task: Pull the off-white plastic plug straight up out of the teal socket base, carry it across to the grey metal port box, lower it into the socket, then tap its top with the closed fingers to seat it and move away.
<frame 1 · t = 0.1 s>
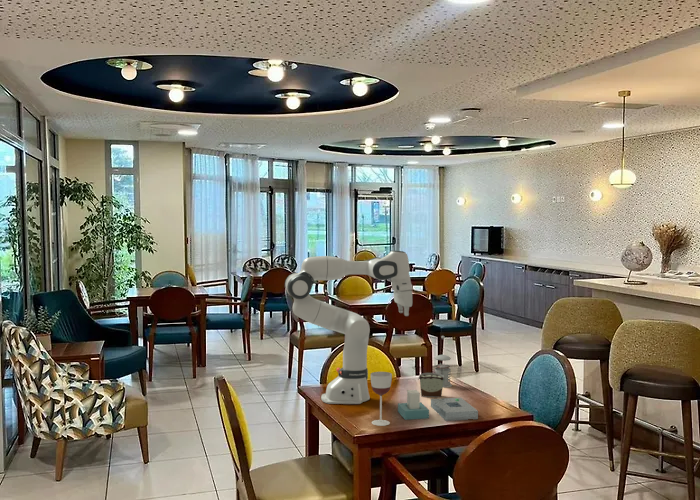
hand: (403, 314, 290), 39 cm above the table, tool pointing down, fingers open, 8 cm apart
wineglass: (380, 423, 252), on the table
teal socket base: (413, 414, 263), on the table
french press: (442, 385, 311), on the table
food container: (431, 395, 294), on the table
port box: (453, 412, 266), on the table
plug: (413, 403, 263), in the teal socket base
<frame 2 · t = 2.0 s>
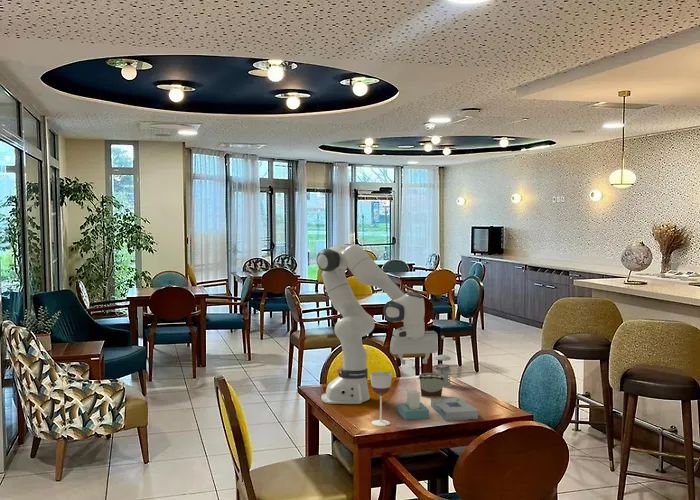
hand: (414, 363, 262), 22 cm above the table, tool pointing down, fingers open, 8 cm apart
nothing on the table moved.
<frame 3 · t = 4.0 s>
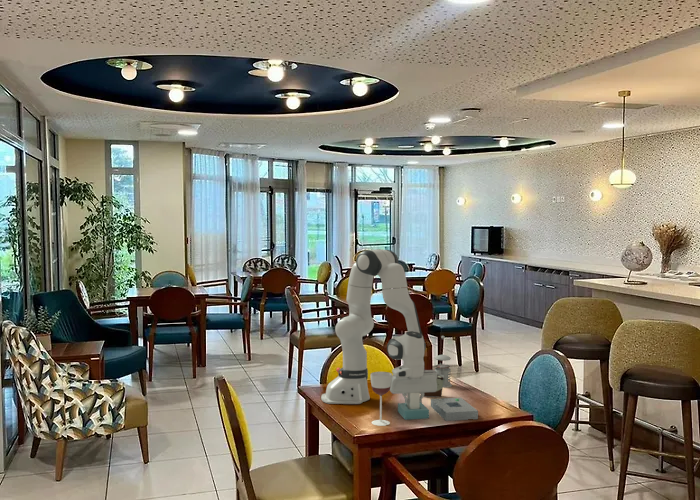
hand: (413, 402, 263), 5 cm above the table, tool pointing down, fingers closed on plug, 4 cm apart
plug: (413, 403, 263), in the teal socket base, touching gripper
everything else where it was.
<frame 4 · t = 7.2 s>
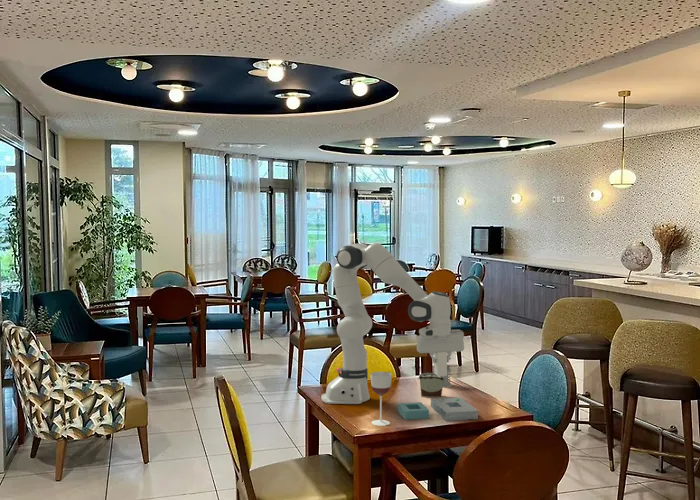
hand: (440, 362, 264), 22 cm above the table, tool pointing down, fingers closed on plug, 4 cm apart
plug: (440, 362, 264), point 22 cm above the table, touching gripper
everything else where it was.
when the fingers open (6 cm above the table, at t = 10.2 s): plug stays where it is, resting in port box.
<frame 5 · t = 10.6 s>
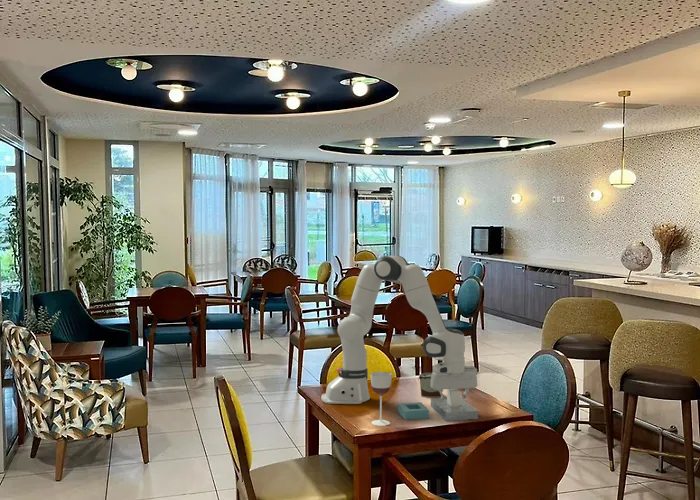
hand: (453, 398, 266), 6 cm above the table, tool pointing down, fingers open, 8 cm apart
plug: (453, 401, 266), in the port box
everything else where it was.
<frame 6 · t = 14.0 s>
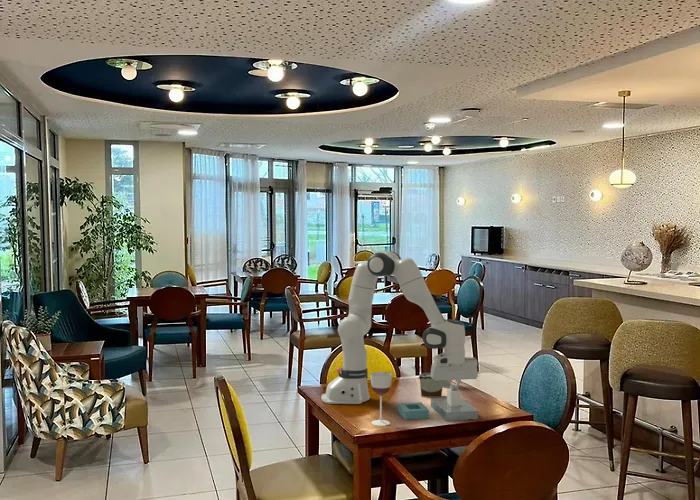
hand: (454, 389, 266), 10 cm above the table, tool pointing down, fingers closed, pressing on plug
plug: (453, 401, 266), in the port box, touching gripper
everything else where it was.
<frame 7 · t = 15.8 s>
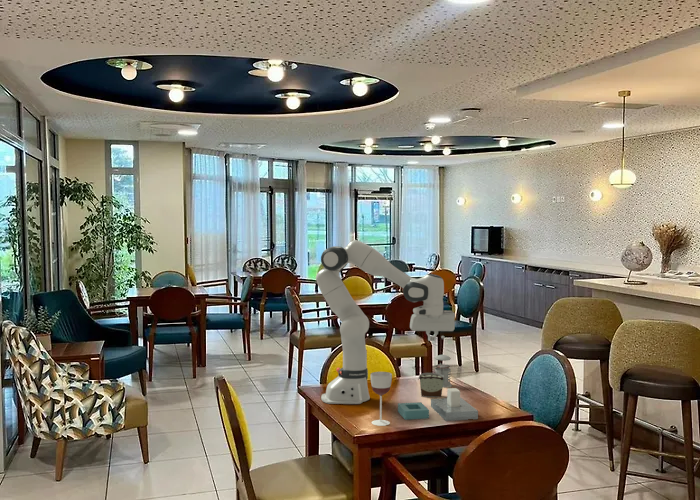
hand: (431, 340, 280), 28 cm above the table, tool pointing down, fingers closed
plug: (453, 401, 266), in the port box
everything else where it was.
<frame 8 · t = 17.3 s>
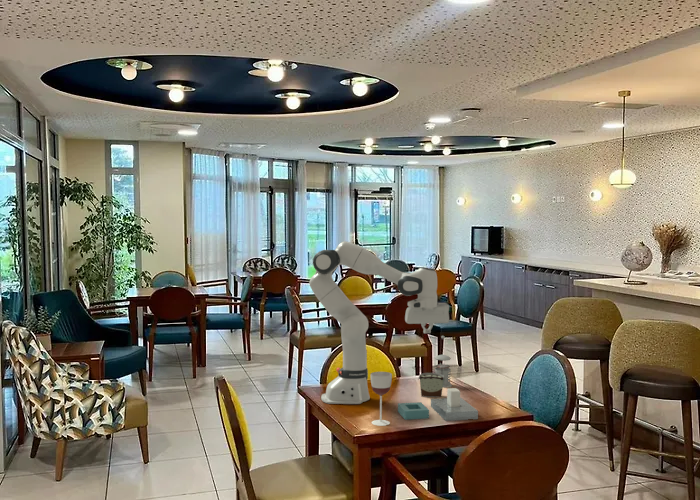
hand: (427, 333, 284), 31 cm above the table, tool pointing down, fingers closed
nothing on the table moved.
at the end: plug 0.1 cm off-centre on the port box, point 5.0 cm above the port box's base; plug tilted 0°; the gripper is holding nothing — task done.
